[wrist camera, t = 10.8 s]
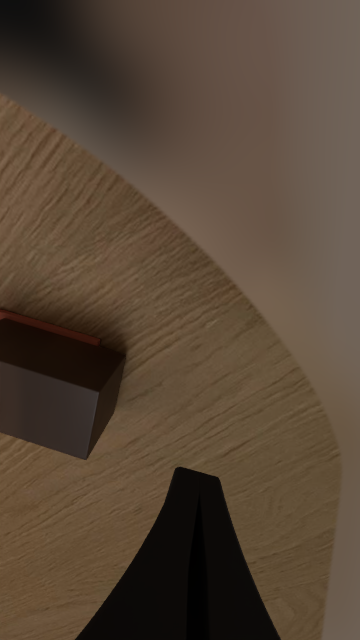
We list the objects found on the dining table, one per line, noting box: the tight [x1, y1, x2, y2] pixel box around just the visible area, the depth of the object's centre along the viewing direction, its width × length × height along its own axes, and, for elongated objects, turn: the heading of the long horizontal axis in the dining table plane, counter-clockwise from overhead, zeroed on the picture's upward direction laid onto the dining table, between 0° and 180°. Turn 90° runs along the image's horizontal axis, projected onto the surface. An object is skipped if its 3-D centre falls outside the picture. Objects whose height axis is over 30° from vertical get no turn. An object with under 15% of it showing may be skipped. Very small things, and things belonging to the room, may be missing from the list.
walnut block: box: [0, 318, 126, 460], centre depth 20 cm, size 4×4×8 cm
